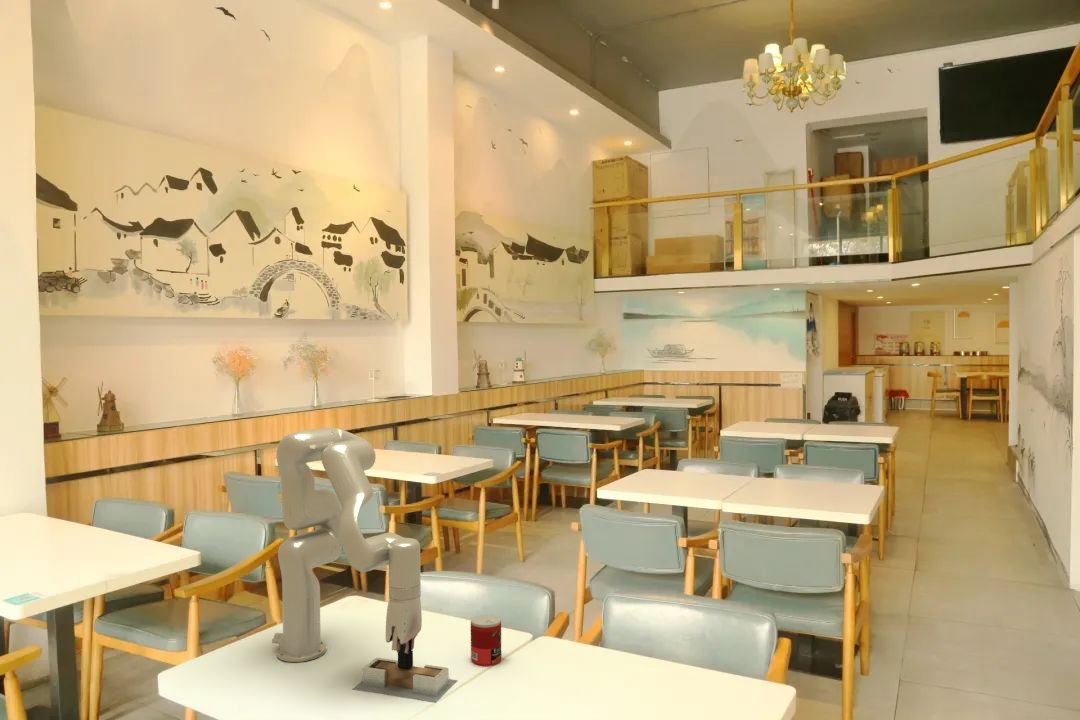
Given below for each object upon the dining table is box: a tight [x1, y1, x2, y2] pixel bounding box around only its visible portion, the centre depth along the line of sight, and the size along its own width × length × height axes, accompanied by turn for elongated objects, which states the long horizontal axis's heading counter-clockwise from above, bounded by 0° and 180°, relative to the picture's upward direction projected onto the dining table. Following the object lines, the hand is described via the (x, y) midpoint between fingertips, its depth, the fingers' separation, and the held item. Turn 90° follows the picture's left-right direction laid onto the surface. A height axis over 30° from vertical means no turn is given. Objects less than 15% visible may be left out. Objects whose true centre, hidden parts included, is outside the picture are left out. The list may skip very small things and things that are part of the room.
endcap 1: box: [361, 657, 398, 688], centre depth 180 cm, size 6×7×4 cm
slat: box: [375, 662, 441, 689], centre depth 178 cm, size 16×3×4 cm, turn 71°
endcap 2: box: [413, 664, 450, 697], centre depth 176 cm, size 6×7×4 cm
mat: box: [352, 678, 458, 704], centre depth 178 cm, size 22×12×1 cm, turn 71°
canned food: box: [470, 614, 502, 667], centre depth 192 cm, size 8×8×11 cm
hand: (405, 667), depth 178 cm, fingers closed
